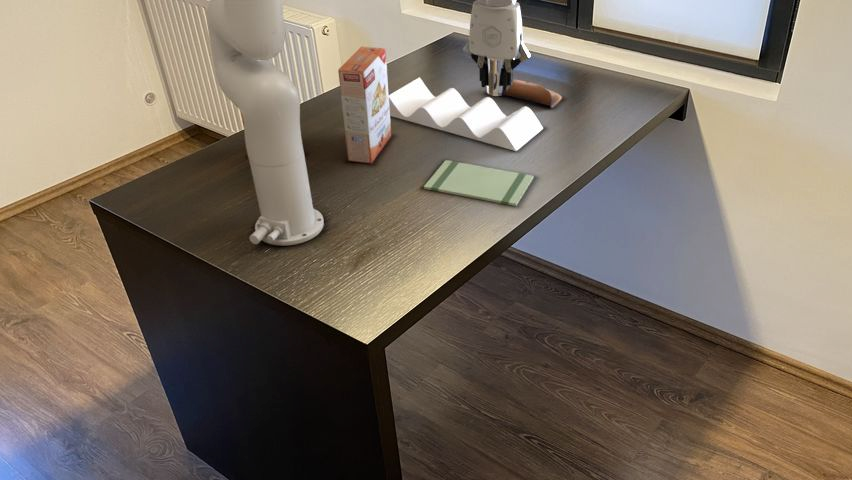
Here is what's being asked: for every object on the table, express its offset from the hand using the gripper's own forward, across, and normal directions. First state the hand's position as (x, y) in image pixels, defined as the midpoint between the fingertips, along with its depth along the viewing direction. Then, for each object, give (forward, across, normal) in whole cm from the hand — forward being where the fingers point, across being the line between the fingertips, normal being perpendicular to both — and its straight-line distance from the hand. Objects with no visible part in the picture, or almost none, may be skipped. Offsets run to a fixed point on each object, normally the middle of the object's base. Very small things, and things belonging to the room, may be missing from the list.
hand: (496, 85), depth 154 cm
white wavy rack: (+17, -13, +14) cm, 26 cm away
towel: (+17, 0, -12) cm, 20 cm away
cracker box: (+17, -28, -6) cm, 33 cm away
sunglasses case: (+17, -4, +34) cm, 38 cm away
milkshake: (+2, 0, 0) cm, 2 cm away
